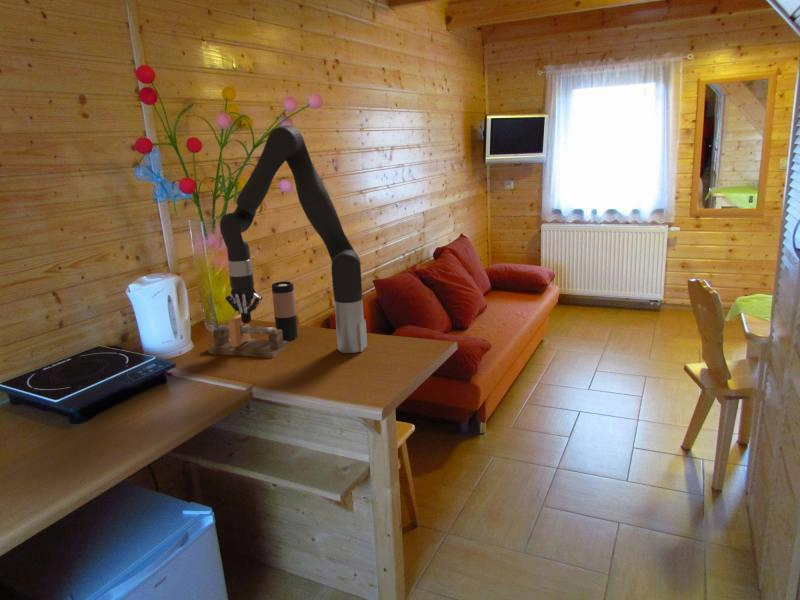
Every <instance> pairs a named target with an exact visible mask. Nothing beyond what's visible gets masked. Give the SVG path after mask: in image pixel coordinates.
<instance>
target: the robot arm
mask: <svg viewBox="0 0 800 600" xmlns="http://www.w3.org/2000/svg"><path fill="white" fill-rule="evenodd" d="M285 162H286V164H287V165H288V168H289V169H290V171H291V173H292V175H293V178H294V183H295V188H296V189H295V190H296V194H297V197H298V201H299V204H300V206H301V208H302V211H303V212H304V214H305V216H306V218H307V220H308V221H309V223H310V225H311V227H313V229H314V230H315V232H316V233H317V234H318V236H320V239H322V242H323V243H324V245H325V247H326V251H327V252H328V255H329V258H330V260H331V279H332V280H331V281H332V292H333V298H334V301H333V302H334V312H335V313H334V316H335V328H336V340H337V341H336V342H337V351H338V352H339V353H343V354H356V353H362V352H364V350H365V349H366V348H367V347H368V337H367V336H368V335H367V323H366V322H367V320H366V319H365V318H364V304H363V303H364V302H363V286H362V270H361V269H362V268H361V260H360V257H359V255H358V254H357V252H356V251H355V249H354V247H353V246H352V244H351V242H350V241H349V239H348V237H347V235H346V233H345V232H344V229H343V227H342V223H341V220H340V218H339V215H338V213H337V209H336V208H335V206H334V203H333V201H332V199H331V197H330V194H329V193H328V191H327V189H326V187H325V185H324V183H323V181H322V178H321V176H320V175H319V174H318V172H317V170H316V168H315V166H314V164H313V161H312V159H311V156H310V153H309V151H308V147H307V145H306V142H305V140H304V137H303V135H302V133H301V131H299V130H298V128H296V127H294V126H293V125H281V126H278V127H275V128H273V129H272V130H271V131H270V133H269V134H268V137H267V139H266V142H265V144H264V147H263V150H262V152H261V154H260V156H259V159H258V162H256V163H257V164H256V165H255V168H254V169H253V171H252V172H251V174H250V175H249V178H248V179H247V181H246V183H245V184H244V186H243V187H242V189H241V190H240V192H239V194H238V196H237V198H236V208H235V209H234V211H233V212H229V213H228V212H227V213H225V214H223V216H222V217H221V218H220V221H219V230H220V234H221V236H222V239H223V242H224V245H225V247H226V254H227V260H228V264H227V265H228V267H227V269H228V276H229V277H228V278H229V283H230V284H229V285H230V288H231V291H230V294H229V295H227V296H226V297H225V300H226V302H227V303H228V304H229V305H230V306H231V307H232V308H233V310H234V312H239V314H241V319H242V322H243V324H248V323H249V324H250V323H251V322H252V316H251V312H254V311H255V310H256V309H257V307H258V306H259V304H260V303H261V301H262V299H263V296H262V295H258V294H257V293H256V290H255V282H254V272H253V265H252V261H251V252H250V251H251V250H250V245H249V243H248V242H247V241H245V240H244V238H243V235H242V233H245V232H246V231H247V230H249V228H250V226H251V225H252V224H253V221H254V219H255V216H256V213H257V211H258V209H259V207H260V206H261V204H262V202H263V201H264V200H265V198H266V195H267V194H268V192H269V190H270V187H271V184H272V182H273V179H274V177H275V176H276V174H277V172H278V170H279V169H280V168H281V167H282V165H283V164H284V163H285Z"/></svg>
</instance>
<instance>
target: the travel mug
mask: <svg viewBox="0 0 800 600" xmlns="http://www.w3.org/2000/svg"><path fill="white" fill-rule="evenodd" d="M294 289H295V287H294V283H291V281H277V282H274V283H272V284H271V293H272V303H273V314H274V320H275V321H274V322H275V323H274V324H275V328H276V329H280V330H282V334H283V341H289V342H290V341H293V340H296V339H297V338H298V336H299V335H298V320H297V317H298V316H297V309H296V308H297V306H296V299H295V298H296V297H295V290H294Z"/></svg>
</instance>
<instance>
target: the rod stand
mask: <svg viewBox="0 0 800 600" xmlns="http://www.w3.org/2000/svg"><path fill="white" fill-rule="evenodd" d="M212 332H213V341H214V342H213V343H214V345H213V346H211V347H209V348H207V349H208V354H211V355H224V356H225V355H228V356H240V357H241V356H242V357H259V358H272V359H273V358H274V357H276V356H277V355H278V354H280V353H281V352H282V351H283V350H285V349H286V348H287V347H290V341H283V334H282V330H280V329H276V327H270V326H269V327H268V326H266V327H265V326H240V333H250V334H251V335H252V334H253V335H268V339H260V338H259V339H258V338H250V339H248V340H247V341H245V342H244V343H242V344H241V345H239V346H238V347H236V346H231V341H230V337H229V326H228V324H219V325H218V327H216V328H213V330H212Z"/></svg>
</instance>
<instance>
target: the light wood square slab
mask: <svg viewBox="0 0 800 600" xmlns="http://www.w3.org/2000/svg"><path fill="white" fill-rule="evenodd" d="M227 325H228V326H229V332H228V335H229V338H230V341H231V346H236V347H238V346H239V345H241V344H242V343H244V342H245V341H247V340H248V339H252V334H250V333H240V326H250V323H248V324H243V322H242V319H241V313H239V314H237V315H236V316H234V317H232V318H230V319H228V320H227Z"/></svg>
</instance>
